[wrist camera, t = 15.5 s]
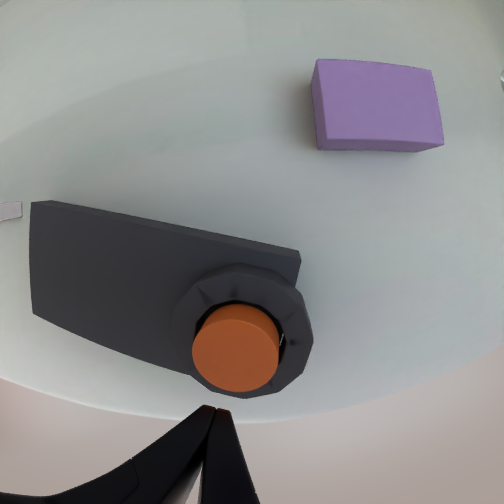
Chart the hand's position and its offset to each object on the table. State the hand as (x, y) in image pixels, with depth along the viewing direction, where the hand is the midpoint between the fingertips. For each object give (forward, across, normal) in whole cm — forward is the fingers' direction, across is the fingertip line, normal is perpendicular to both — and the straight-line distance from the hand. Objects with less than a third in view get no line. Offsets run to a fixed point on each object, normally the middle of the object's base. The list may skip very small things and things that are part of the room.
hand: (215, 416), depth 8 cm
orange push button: (+5, 0, 0) cm, 5 cm away
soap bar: (+9, -4, -12) cm, 16 cm away
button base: (+9, +6, 0) cm, 11 cm away
